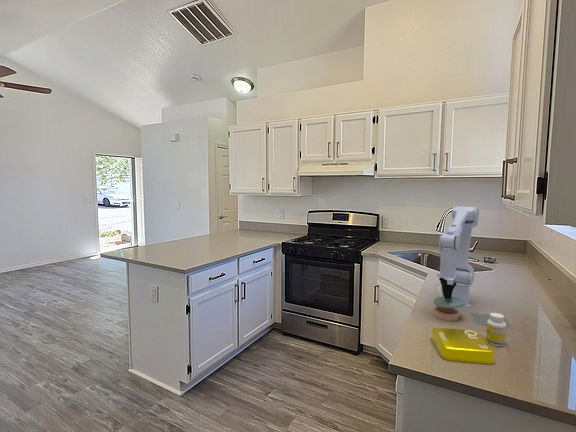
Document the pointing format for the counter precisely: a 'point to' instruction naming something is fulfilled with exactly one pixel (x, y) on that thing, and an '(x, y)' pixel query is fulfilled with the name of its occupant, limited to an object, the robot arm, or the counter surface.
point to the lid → (449, 302)
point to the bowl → (446, 313)
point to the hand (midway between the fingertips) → (446, 297)
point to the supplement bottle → (496, 329)
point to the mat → (486, 319)
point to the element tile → (462, 345)
